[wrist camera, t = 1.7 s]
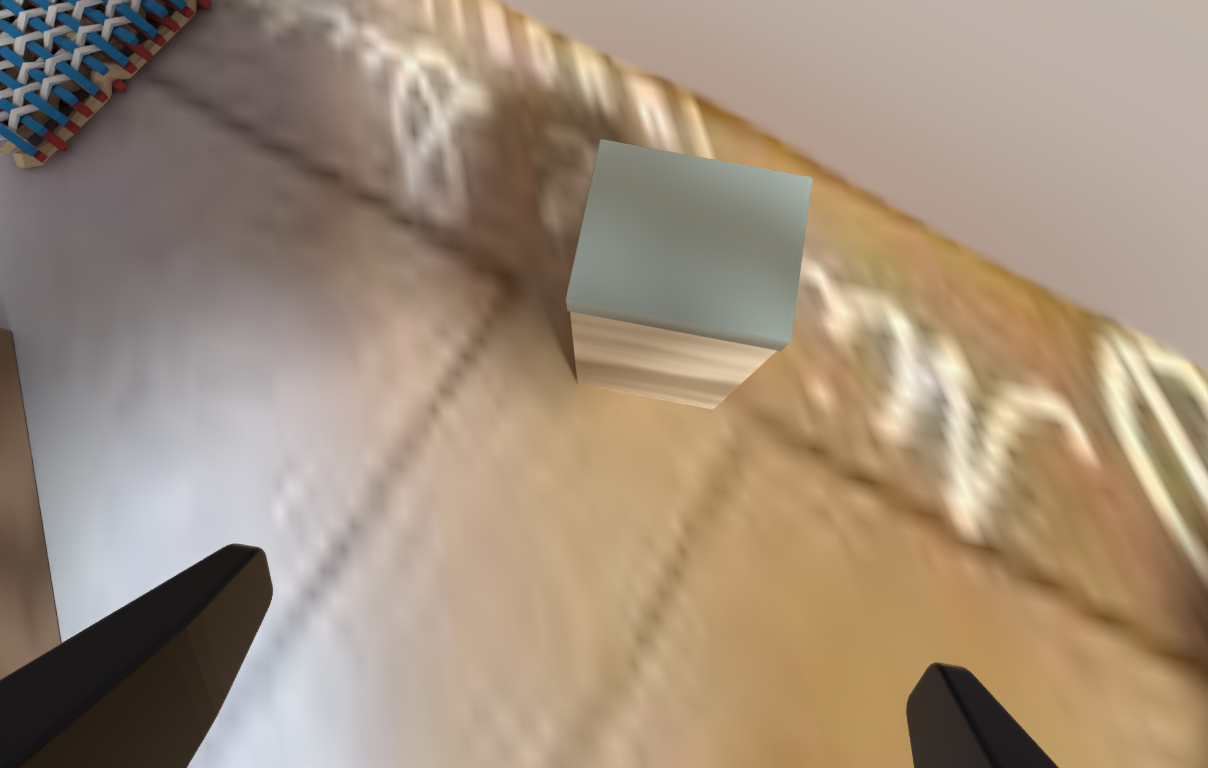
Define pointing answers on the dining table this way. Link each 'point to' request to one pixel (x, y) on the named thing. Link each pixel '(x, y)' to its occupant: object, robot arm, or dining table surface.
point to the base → (20, 534)
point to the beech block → (684, 273)
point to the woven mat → (72, 62)
